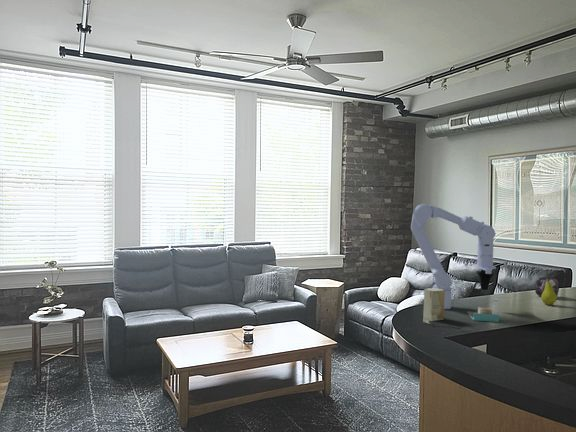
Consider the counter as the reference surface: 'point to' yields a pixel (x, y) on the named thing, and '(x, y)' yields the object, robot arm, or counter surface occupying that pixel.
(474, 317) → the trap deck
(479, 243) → the robot arm
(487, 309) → the maple block
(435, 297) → the skincare box
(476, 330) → the counter surface
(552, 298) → the fruit
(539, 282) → the mineral specimen
